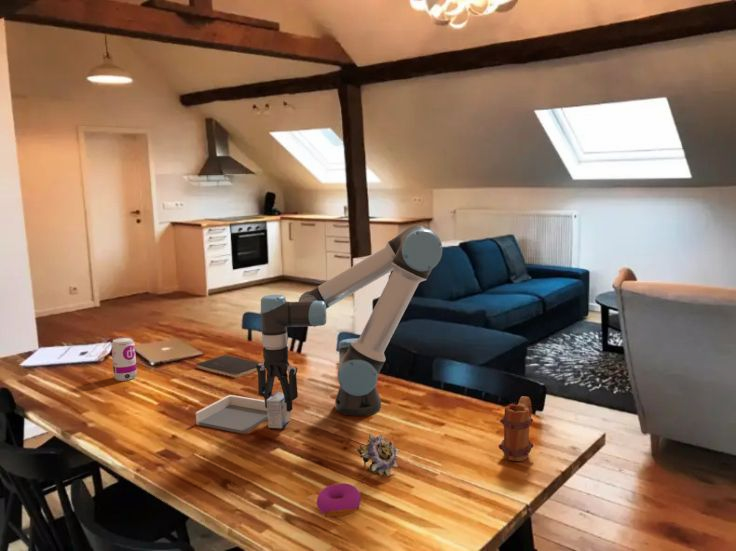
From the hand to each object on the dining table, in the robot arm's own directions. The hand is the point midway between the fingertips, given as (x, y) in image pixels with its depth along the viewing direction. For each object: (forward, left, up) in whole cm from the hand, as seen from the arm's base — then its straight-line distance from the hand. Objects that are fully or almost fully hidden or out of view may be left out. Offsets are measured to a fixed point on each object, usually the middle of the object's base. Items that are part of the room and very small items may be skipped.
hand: (279, 419), depth 196 cm
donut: (-40, +35, -2) cm, 53 cm away
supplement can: (+80, -16, -2) cm, 82 cm away
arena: (+15, +1, -2) cm, 15 cm away
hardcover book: (+50, -42, -3) cm, 65 cm away
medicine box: (0, 0, -2) cm, 2 cm away
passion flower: (-40, +15, -2) cm, 43 cm away
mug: (-71, -9, -2) cm, 72 cm away
